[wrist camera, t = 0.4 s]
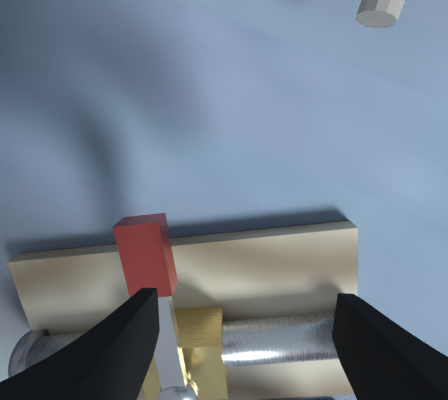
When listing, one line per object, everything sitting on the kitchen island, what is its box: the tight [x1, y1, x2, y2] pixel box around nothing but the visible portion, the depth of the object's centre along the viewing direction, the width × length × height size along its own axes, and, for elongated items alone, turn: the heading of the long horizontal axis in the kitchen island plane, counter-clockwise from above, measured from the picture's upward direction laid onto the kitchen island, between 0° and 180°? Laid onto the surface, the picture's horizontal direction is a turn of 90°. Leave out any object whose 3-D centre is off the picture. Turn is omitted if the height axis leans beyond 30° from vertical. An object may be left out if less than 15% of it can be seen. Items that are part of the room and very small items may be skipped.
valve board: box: [7, 221, 358, 400], centre depth 23 cm, size 15×26×2 cm, turn 97°
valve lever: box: [113, 213, 199, 400], centre depth 15 cm, size 13×2×1 cm, turn 7°
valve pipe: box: [8, 305, 339, 400], centre depth 20 cm, size 4×25×6 cm, turn 97°
